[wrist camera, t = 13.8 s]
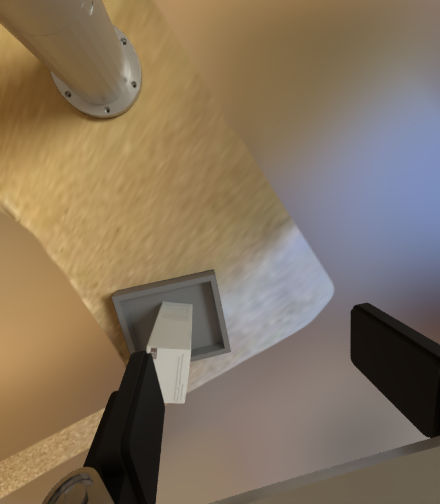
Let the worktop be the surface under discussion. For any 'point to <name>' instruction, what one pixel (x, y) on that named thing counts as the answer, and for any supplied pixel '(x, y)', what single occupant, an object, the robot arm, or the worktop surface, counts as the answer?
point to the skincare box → (172, 349)
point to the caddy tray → (177, 291)
